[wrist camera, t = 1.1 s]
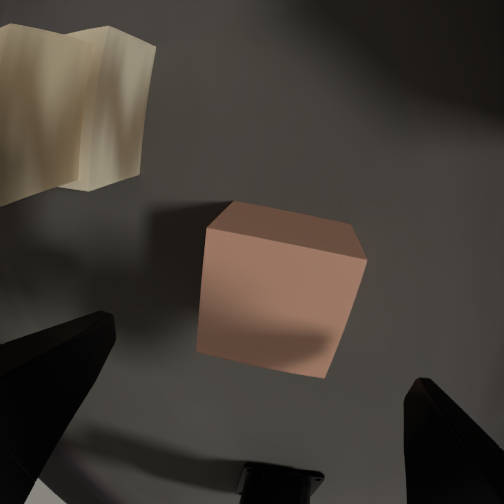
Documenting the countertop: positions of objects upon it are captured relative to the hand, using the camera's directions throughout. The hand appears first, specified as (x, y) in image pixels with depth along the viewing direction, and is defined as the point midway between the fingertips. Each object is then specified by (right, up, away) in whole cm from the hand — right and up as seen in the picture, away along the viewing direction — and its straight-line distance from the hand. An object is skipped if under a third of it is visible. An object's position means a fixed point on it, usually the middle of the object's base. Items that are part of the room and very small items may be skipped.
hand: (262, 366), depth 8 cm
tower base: (-8, +10, +5) cm, 14 cm away
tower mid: (-9, +8, +1) cm, 12 cm away
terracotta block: (+1, +2, +6) cm, 7 cm away
